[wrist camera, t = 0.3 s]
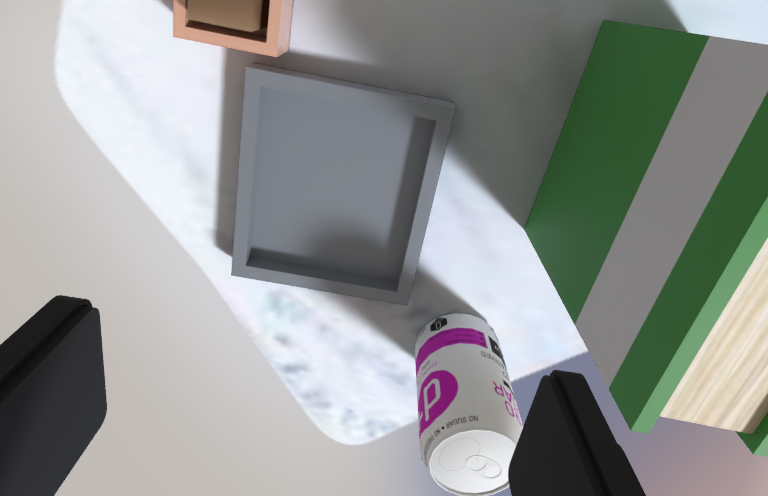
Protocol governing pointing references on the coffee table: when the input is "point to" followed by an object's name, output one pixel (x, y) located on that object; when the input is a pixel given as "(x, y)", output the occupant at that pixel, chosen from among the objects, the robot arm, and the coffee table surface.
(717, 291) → the hardback book
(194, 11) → the block
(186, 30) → the salmon pink square box
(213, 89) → the coffee table surface
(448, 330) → the supplement can
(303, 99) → the tray
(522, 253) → the coffee table surface
